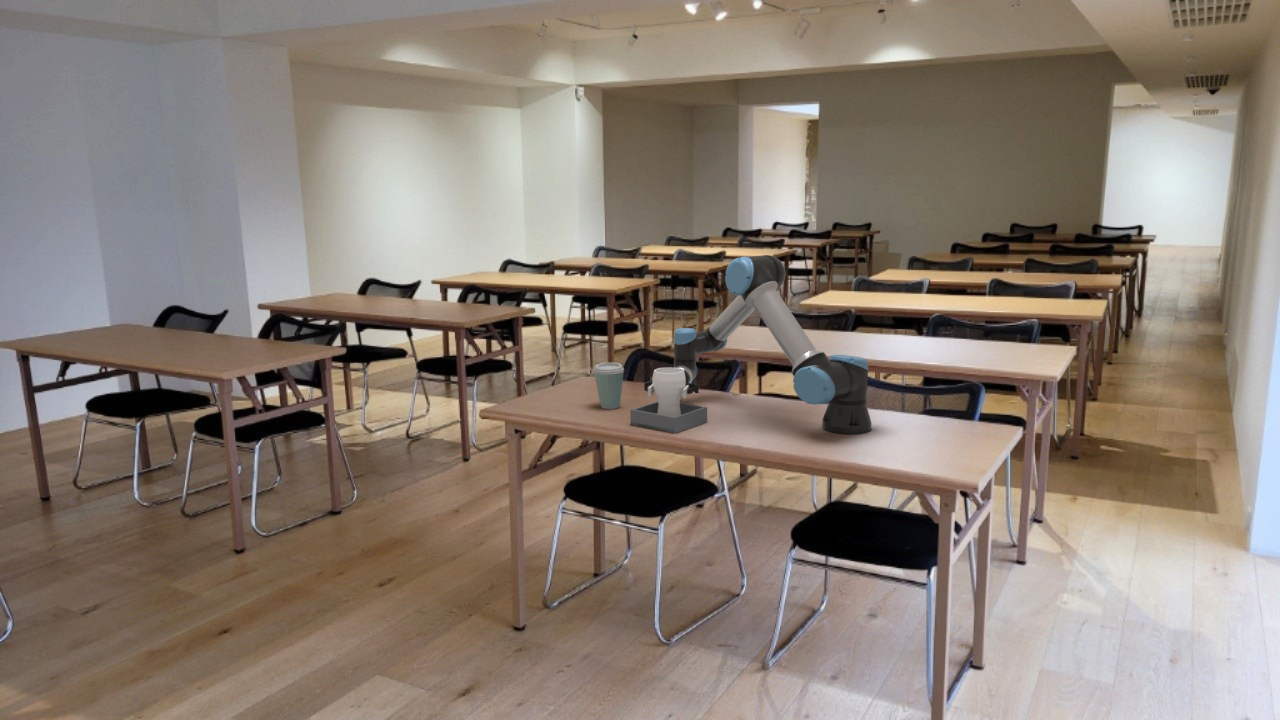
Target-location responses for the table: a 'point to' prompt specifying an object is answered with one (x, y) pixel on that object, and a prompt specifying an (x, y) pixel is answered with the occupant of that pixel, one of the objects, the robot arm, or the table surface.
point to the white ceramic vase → (669, 389)
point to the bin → (668, 418)
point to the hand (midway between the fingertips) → (666, 393)
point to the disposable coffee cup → (609, 384)
